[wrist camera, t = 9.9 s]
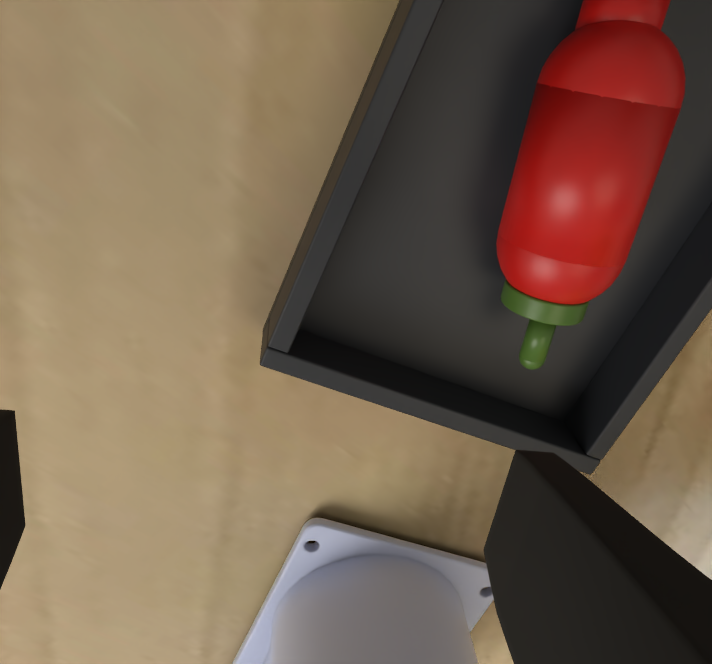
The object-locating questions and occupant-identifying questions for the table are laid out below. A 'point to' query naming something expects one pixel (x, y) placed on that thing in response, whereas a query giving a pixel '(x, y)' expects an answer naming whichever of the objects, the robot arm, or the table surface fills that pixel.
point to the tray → (487, 241)
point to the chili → (587, 164)
